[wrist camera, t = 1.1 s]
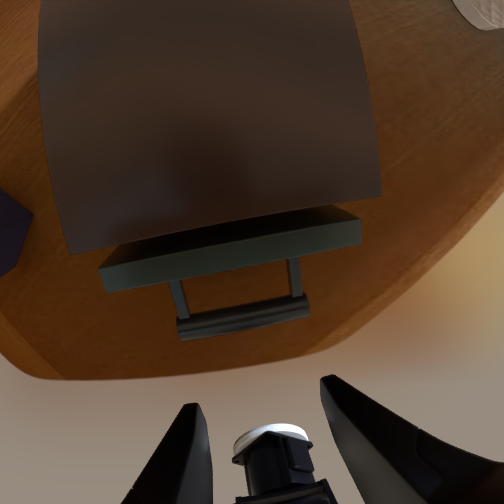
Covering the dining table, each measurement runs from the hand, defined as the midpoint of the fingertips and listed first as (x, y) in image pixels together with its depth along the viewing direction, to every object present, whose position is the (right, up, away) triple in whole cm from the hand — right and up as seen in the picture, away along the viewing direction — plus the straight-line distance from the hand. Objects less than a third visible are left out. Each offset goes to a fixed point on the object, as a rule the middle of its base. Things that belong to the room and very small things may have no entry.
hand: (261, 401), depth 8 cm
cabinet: (-3, +15, +8) cm, 17 cm away
